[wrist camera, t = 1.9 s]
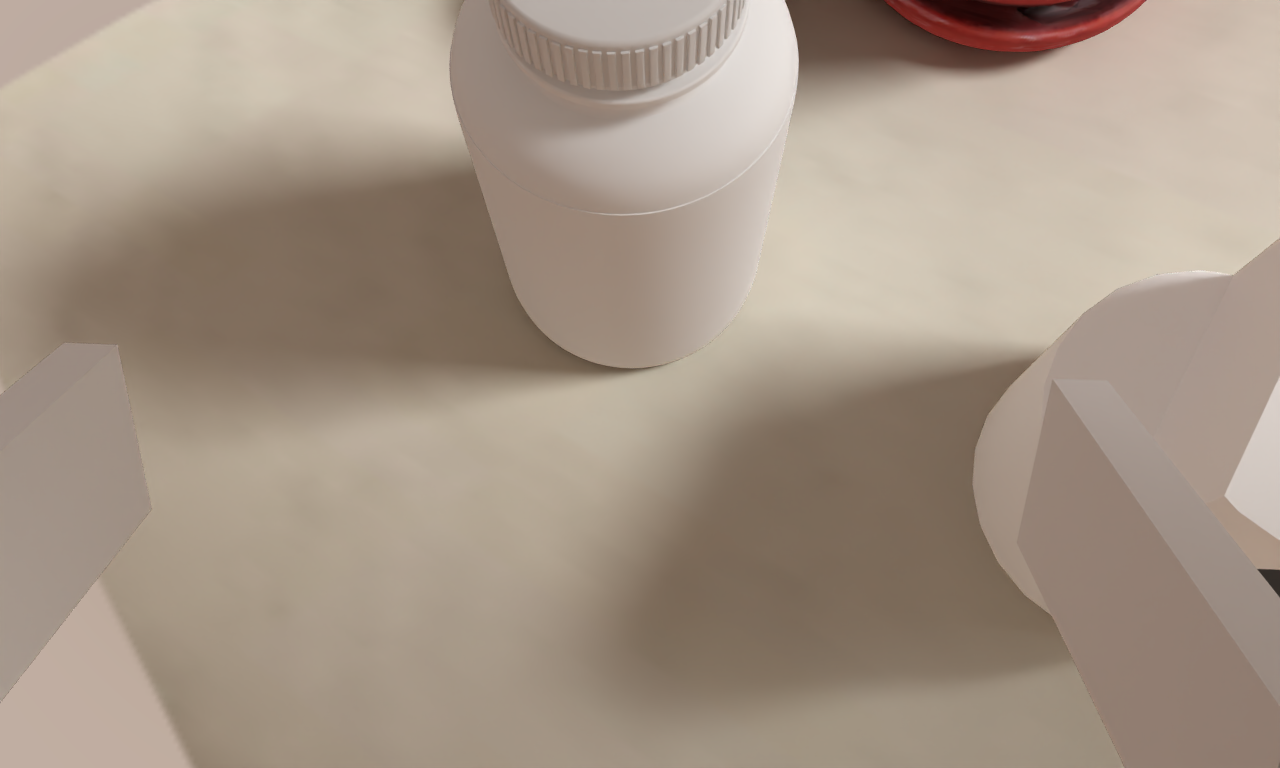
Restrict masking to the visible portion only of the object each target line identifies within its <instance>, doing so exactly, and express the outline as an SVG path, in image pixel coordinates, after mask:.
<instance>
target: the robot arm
mask: <svg viewBox="0 0 1280 768" xmlns="http://www.w3.org/2000/svg"><path fill="white" fill-rule="evenodd" d="M151 509H152V507H151V502H150V498H149V493H148V488H147V483H146V479H145V474H144V469H143V464H142V459H141V455H140V450H139V445H138V440H137V435H136V431H135V426H134V421H133V416H132V411H131V407H130V402H129V397H128V392H127V387H126V383H125V378H124V373H123V368H122V363H121V359H120V354H119V349H118V345H116V344H89V343H63V344H61V345H60V346H59V347H58V348H57V349H55V350H54V351H53V352H52V353H51V354H49V355H48V356H47V357H46V358H44V359H43V360H42V361H41V362H40V363H38V364H37V365H36V366H35V367H34V368H32V369H31V370H30V371H29V372H27V373H26V374H25V375H24V376H23V377H21V378H20V379H19V380H18V381H17V382H15V383H14V384H13V385H12V386H10V387H9V388H8V389H7V390H6V391H4V392H3V393H2V394H1V395H0V702H1V701H2V700H3V699H4V697H5V696H6V695H7V694H8V692H9V691H10V690H11V689H12V687H13V686H14V685H15V683H16V682H17V681H18V680H19V678H20V677H21V676H22V674H23V673H24V672H25V671H26V669H27V668H28V667H29V665H30V664H31V663H32V662H33V660H34V659H35V658H36V656H37V655H38V654H39V653H40V651H41V650H42V649H43V647H44V646H45V645H46V644H47V642H48V641H49V640H50V639H51V637H52V636H53V635H54V634H55V632H56V631H57V630H58V628H59V627H60V626H61V625H62V623H63V622H64V621H65V619H66V618H67V617H68V615H69V614H70V613H71V612H72V610H73V609H74V608H75V607H76V605H77V604H78V603H79V602H80V600H81V599H82V598H83V596H84V595H85V594H86V593H87V591H88V590H89V588H90V587H91V586H92V585H93V584H94V582H95V581H96V580H97V579H98V577H99V576H100V575H101V573H102V572H103V571H104V570H105V568H106V567H107V566H108V564H109V563H110V562H111V561H112V559H113V558H114V557H115V556H116V554H117V553H118V552H119V550H120V549H121V548H122V547H123V545H124V544H125V543H126V541H127V540H128V539H129V538H130V536H131V535H132V534H133V532H134V531H135V530H136V529H137V527H138V526H139V525H140V524H141V522H142V521H143V520H144V518H145V517H146V516H147V515H148V513H149V512H150V511H151ZM1017 544H1018V547H1019V549H1020V551H1021V553H1022V555H1023V557H1024V559H1025V561H1026V563H1027V565H1028V567H1029V569H1030V571H1031V574H1032V576H1033V578H1034V580H1035V582H1036V584H1037V586H1038V588H1039V590H1040V592H1041V594H1042V596H1043V598H1044V601H1045V603H1046V605H1047V607H1048V609H1049V611H1050V613H1051V615H1052V617H1053V619H1054V621H1055V623H1056V625H1057V628H1058V630H1059V632H1060V634H1061V636H1062V638H1063V640H1064V642H1065V644H1066V646H1067V648H1068V650H1069V652H1070V655H1071V657H1072V659H1073V661H1074V663H1075V665H1076V667H1077V669H1078V671H1079V673H1080V675H1081V677H1082V679H1083V682H1084V684H1085V686H1086V688H1087V690H1088V692H1089V694H1090V696H1091V698H1092V700H1093V702H1094V704H1095V706H1096V709H1097V711H1098V713H1099V715H1100V717H1101V719H1102V721H1103V723H1104V725H1105V727H1106V729H1107V731H1108V733H1109V736H1110V738H1111V740H1112V742H1113V744H1114V746H1115V748H1116V750H1117V752H1118V754H1119V756H1120V758H1121V760H1122V763H1123V765H1124V767H1125V768H1280V570H1274V569H1257V568H1256V567H1255V566H1254V564H1253V563H1252V562H1251V561H1250V559H1249V558H1248V557H1247V556H1246V554H1245V553H1244V552H1243V551H1242V549H1241V548H1240V547H1239V546H1238V544H1237V543H1236V542H1235V540H1234V539H1233V538H1232V537H1231V535H1230V534H1229V533H1228V532H1227V530H1226V529H1225V528H1224V527H1223V525H1222V524H1221V523H1220V522H1219V520H1218V519H1217V518H1216V517H1215V515H1214V514H1213V513H1212V511H1211V510H1210V509H1209V508H1208V506H1207V505H1206V504H1205V503H1204V501H1203V500H1202V499H1201V498H1200V496H1199V495H1198V494H1197V493H1196V491H1195V490H1194V489H1193V488H1192V486H1191V485H1190V484H1189V482H1188V481H1187V480H1186V479H1185V477H1184V476H1183V475H1182V474H1181V472H1180V471H1179V470H1178V469H1177V467H1176V466H1175V465H1174V464H1173V462H1172V461H1171V460H1170V458H1169V457H1168V456H1167V455H1166V453H1165V452H1164V451H1163V450H1162V448H1161V447H1160V446H1159V445H1158V443H1157V442H1156V441H1155V440H1154V438H1153V437H1152V436H1151V435H1150V433H1149V432H1148V431H1147V429H1146V428H1145V427H1144V426H1143V424H1142V423H1141V422H1140V421H1139V419H1138V418H1137V417H1136V416H1135V414H1134V413H1133V412H1132V411H1131V409H1130V408H1129V407H1128V406H1127V404H1126V403H1125V402H1124V400H1123V399H1122V398H1121V397H1120V395H1119V394H1118V393H1117V392H1116V390H1115V389H1114V388H1113V387H1112V385H1111V384H1110V383H1109V382H1108V381H1102V380H1075V379H1052V383H1051V388H1050V392H1049V397H1048V402H1047V406H1046V411H1045V415H1044V420H1043V424H1042V429H1041V434H1040V438H1039V443H1038V447H1037V452H1036V456H1035V461H1034V466H1033V470H1032V475H1031V479H1030V484H1029V488H1028V493H1027V497H1026V502H1025V507H1024V511H1023V516H1022V520H1021V525H1020V529H1019V534H1018V539H1017Z"/></svg>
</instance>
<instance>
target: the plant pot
mask: <svg viewBox="0 0 1280 768" xmlns="http://www.w3.org/2000/svg"><path fill="white" fill-rule="evenodd" d="M884 1H885V2H886V3H887V4H889V5H890V6H891V7H892V8H893V9H894V10H896V11H897V12H898V13H899V14H901V15H902V16H903V17H904V18H906V19H907V20H909V21H910V22H912V23H914V24H915V25H917V26H919V27H921V28H922V29H924V30H926V31H928V32H930V33H932V34H934V35H936V36H939V37H941V38H944V39H947V40H949V41H952V42H955V43H958V44H961V45H966V46H970V47H974V48H979V49H986V50H994V51H1012V52H1031V51H1041V50H1046V49H1053V48H1058V47H1062V46H1066V45H1070V44H1073V43H1077V42H1080V41H1083V40H1086V39H1088V38H1091V37H1093V36H1095V35H1098V34H1100V33H1102V32H1104V31H1106V30H1108V29H1110V28H1111V27H1113V26H1114V25H1116V24H1118V23H1119V22H1121V21H1122V20H1123V19H1125V18H1126V17H1128V16H1129V15H1130V14H1132V13H1133V12H1134V11H1135V10H1136V9H1138V8H1139V7H1140V6H1141V5H1142V4H1143V3H1144V2H1145V1H1146V0H884Z"/></svg>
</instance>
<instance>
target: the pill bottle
mask: <svg viewBox="0 0 1280 768" xmlns="http://www.w3.org/2000/svg"><path fill="white" fill-rule="evenodd" d="M798 69H799V57H798V46H797V39H796V34H795V30H794V27H793V23H792V20H791V17H790V13H789V10H788V8H787V5H786V3H785V0H464V2H463V4H462V7H461V9H460V12H459V15H458V18H457V22H456V25H455V30H454V34H453V40H452V45H451V52H450V82H451V89H452V95H453V100H454V104H455V108H456V112H457V115H458V119H459V122H460V125H461V128H462V131H463V134H464V138H465V141H466V144H467V147H468V150H469V153H470V156H471V159H472V162H473V166H474V169H475V172H476V175H477V178H478V181H479V184H480V187H481V190H482V194H483V197H484V200H485V203H486V206H487V209H488V212H489V215H490V219H491V222H492V225H493V228H494V231H495V234H496V237H497V240H498V243H499V247H500V250H501V253H502V256H503V259H504V262H505V265H506V268H507V271H508V275H509V278H510V281H511V284H512V286H513V289H514V291H515V294H516V296H517V298H518V299H519V301H520V303H521V305H522V306H523V308H524V309H525V311H526V313H527V314H528V316H529V317H530V318H531V320H532V321H533V322H534V323H535V325H536V326H537V327H538V328H539V329H540V330H541V331H542V332H543V333H544V334H545V335H546V336H547V337H548V338H549V339H551V340H552V341H553V342H554V343H556V344H557V345H559V346H560V347H561V348H563V349H565V350H566V351H568V352H570V353H572V354H574V355H576V356H578V357H580V358H582V359H585V360H588V361H590V362H594V363H597V364H601V365H605V366H611V367H618V368H646V367H653V366H659V365H663V364H667V363H671V362H674V361H677V360H679V359H682V358H684V357H686V356H689V355H691V354H693V353H694V352H696V351H698V350H700V349H701V348H703V347H704V346H706V345H707V344H709V343H710V342H711V341H713V340H714V339H715V338H716V337H717V336H719V335H720V334H721V333H722V332H723V331H724V330H725V329H726V328H727V327H728V325H729V324H730V323H731V322H732V321H733V319H734V318H735V317H736V315H737V314H738V312H739V311H740V309H741V307H742V306H743V304H744V302H745V300H746V298H747V296H748V294H749V292H750V290H751V288H752V285H753V282H754V279H755V276H756V273H757V268H758V264H759V259H760V255H761V250H762V246H763V241H764V237H765V232H766V228H767V223H768V219H769V214H770V210H771V205H772V201H773V196H774V192H775V187H776V182H777V178H778V173H779V169H780V164H781V160H782V155H783V151H784V146H785V142H786V137H787V133H788V128H789V124H790V119H791V115H792V110H793V106H794V101H795V96H796V89H797V82H798Z"/></svg>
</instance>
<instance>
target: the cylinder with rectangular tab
mask: <svg viewBox="0 0 1280 768" xmlns="http://www.w3.org/2000/svg"><path fill="white" fill-rule="evenodd" d="M1052 379H1075V380H1102V381H1108V382H1109V383H1110V384H1111V385H1112V387H1113V388H1114V389H1115V390H1116V392H1117V393H1118V394H1119V395H1120V397H1121V398H1122V399H1123V400H1124V402H1125V403H1126V404H1127V406H1128V407H1129V408H1130V409H1131V411H1132V412H1133V413H1134V414H1135V416H1136V417H1137V418H1138V419H1139V421H1140V422H1141V423H1142V424H1143V426H1144V427H1145V428H1146V429H1147V431H1148V432H1149V433H1150V435H1151V436H1152V437H1153V438H1154V440H1155V441H1156V442H1157V443H1158V445H1159V446H1160V447H1161V448H1162V450H1163V451H1164V452H1165V453H1166V455H1167V456H1168V457H1169V458H1170V460H1171V461H1172V462H1173V464H1174V465H1175V466H1176V467H1177V469H1178V470H1179V471H1180V472H1181V474H1182V475H1183V476H1184V477H1185V479H1186V480H1187V481H1188V482H1189V484H1190V485H1191V486H1192V488H1193V489H1194V490H1195V491H1196V493H1197V494H1198V495H1199V496H1200V498H1201V499H1202V500H1203V501H1204V503H1205V504H1206V505H1207V506H1208V508H1209V509H1210V510H1211V511H1212V513H1213V514H1214V515H1215V517H1216V518H1217V519H1218V520H1219V522H1220V523H1221V524H1222V525H1223V527H1224V528H1225V529H1226V530H1227V532H1228V533H1229V534H1230V535H1231V537H1232V538H1233V539H1234V540H1235V542H1236V543H1237V544H1238V546H1239V547H1240V548H1241V549H1242V551H1243V552H1244V553H1245V554H1246V556H1247V557H1248V558H1249V559H1250V561H1251V562H1252V563H1253V564H1254V566H1255V567H1256V568H1257V569H1274V570H1280V238H1279V239H1278V240H1277V241H1275V242H1274V243H1273V244H1272V245H1270V246H1269V247H1268V248H1267V249H1265V250H1264V251H1263V252H1262V253H1260V254H1259V255H1258V256H1257V257H1255V258H1254V259H1253V260H1252V261H1250V262H1249V263H1248V264H1247V265H1245V266H1244V267H1243V268H1242V269H1240V270H1239V271H1238V272H1237V273H1235V274H1234V275H1231V274H1224V273H1217V272H1211V271H1204V270H1199V271H1188V272H1177V273H1166V274H1157V275H1154V276H1151V277H1148V278H1146V279H1143V280H1140V281H1138V282H1135V283H1132V284H1129V285H1127V286H1124V287H1121V288H1118V289H1116V290H1115V291H1114V292H1112V293H1111V294H1109V295H1108V296H1107V297H1105V298H1104V299H1103V300H1101V301H1100V302H1098V303H1097V304H1096V305H1094V306H1093V307H1092V308H1090V309H1089V310H1087V311H1086V312H1085V313H1083V314H1082V315H1081V316H1080V317H1079V318H1078V319H1077V320H1076V321H1075V322H1074V323H1073V324H1072V325H1071V326H1070V327H1069V328H1068V329H1067V330H1066V331H1065V332H1064V333H1063V334H1062V335H1061V336H1060V337H1059V338H1058V339H1057V340H1056V341H1055V342H1054V343H1053V344H1052V345H1051V346H1050V347H1049V348H1048V349H1047V350H1046V351H1045V352H1044V353H1043V354H1042V355H1041V356H1040V357H1039V358H1038V359H1037V360H1036V361H1035V362H1034V363H1033V364H1032V365H1031V366H1030V367H1028V368H1027V369H1026V370H1025V371H1024V372H1023V373H1022V374H1021V375H1020V376H1019V377H1018V378H1017V379H1016V380H1015V381H1014V382H1013V383H1012V384H1011V385H1010V386H1009V387H1008V389H1007V390H1006V391H1005V393H1004V394H1003V395H1002V397H1001V398H1000V399H999V401H998V402H997V403H996V405H995V406H994V407H993V409H992V410H991V411H990V413H989V414H988V415H987V418H986V421H985V424H984V426H983V429H982V432H981V434H980V437H979V440H978V442H977V445H976V448H975V457H974V471H973V485H972V487H973V492H974V497H975V502H976V507H977V512H978V517H979V523H980V526H981V528H982V530H983V532H984V534H985V537H986V539H987V541H988V543H989V545H990V547H991V549H992V551H993V553H994V555H995V557H996V560H997V562H998V563H999V564H1000V566H1001V567H1002V568H1003V569H1004V570H1005V572H1006V573H1007V574H1008V575H1009V577H1010V578H1011V579H1012V580H1013V581H1014V583H1015V584H1016V585H1017V586H1018V588H1019V589H1020V590H1021V591H1022V592H1023V594H1024V595H1025V596H1026V597H1028V598H1029V599H1030V600H1032V601H1033V602H1034V603H1036V604H1037V605H1038V606H1040V607H1041V608H1042V609H1044V610H1045V611H1046V612H1047V613H1049V614H1050V615H1051V613H1050V611H1049V609H1048V607H1047V605H1046V603H1045V601H1044V598H1043V596H1042V594H1041V592H1040V590H1039V588H1038V586H1037V584H1036V582H1035V580H1034V578H1033V576H1032V574H1031V571H1030V569H1029V567H1028V565H1027V563H1026V561H1025V559H1024V557H1023V555H1022V553H1021V551H1020V549H1019V547H1018V544H1017V539H1018V534H1019V529H1020V525H1021V520H1022V516H1023V511H1024V507H1025V502H1026V497H1027V493H1028V488H1029V484H1030V479H1031V475H1032V470H1033V466H1034V461H1035V456H1036V452H1037V447H1038V443H1039V438H1040V434H1041V429H1042V424H1043V420H1044V415H1045V411H1046V406H1047V402H1048V397H1049V392H1050V388H1051V383H1052ZM1051 616H1052V615H1051Z"/></svg>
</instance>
